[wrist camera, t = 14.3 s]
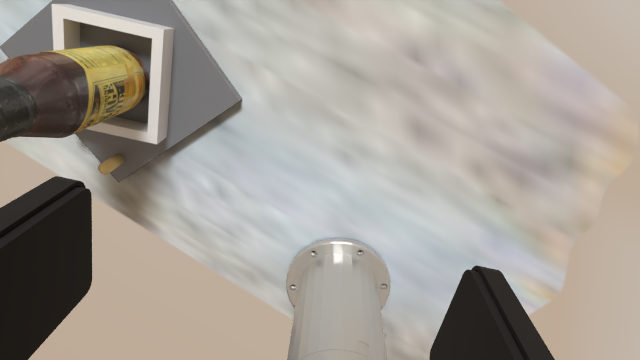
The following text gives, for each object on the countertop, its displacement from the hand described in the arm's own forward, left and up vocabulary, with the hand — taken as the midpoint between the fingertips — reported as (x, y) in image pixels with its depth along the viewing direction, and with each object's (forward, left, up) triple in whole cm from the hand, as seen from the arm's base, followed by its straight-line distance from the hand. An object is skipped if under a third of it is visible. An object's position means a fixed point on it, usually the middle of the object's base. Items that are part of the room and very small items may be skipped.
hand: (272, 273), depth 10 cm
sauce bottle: (+11, +17, -32) cm, 38 cm away
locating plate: (+11, +17, -33) cm, 39 cm away
